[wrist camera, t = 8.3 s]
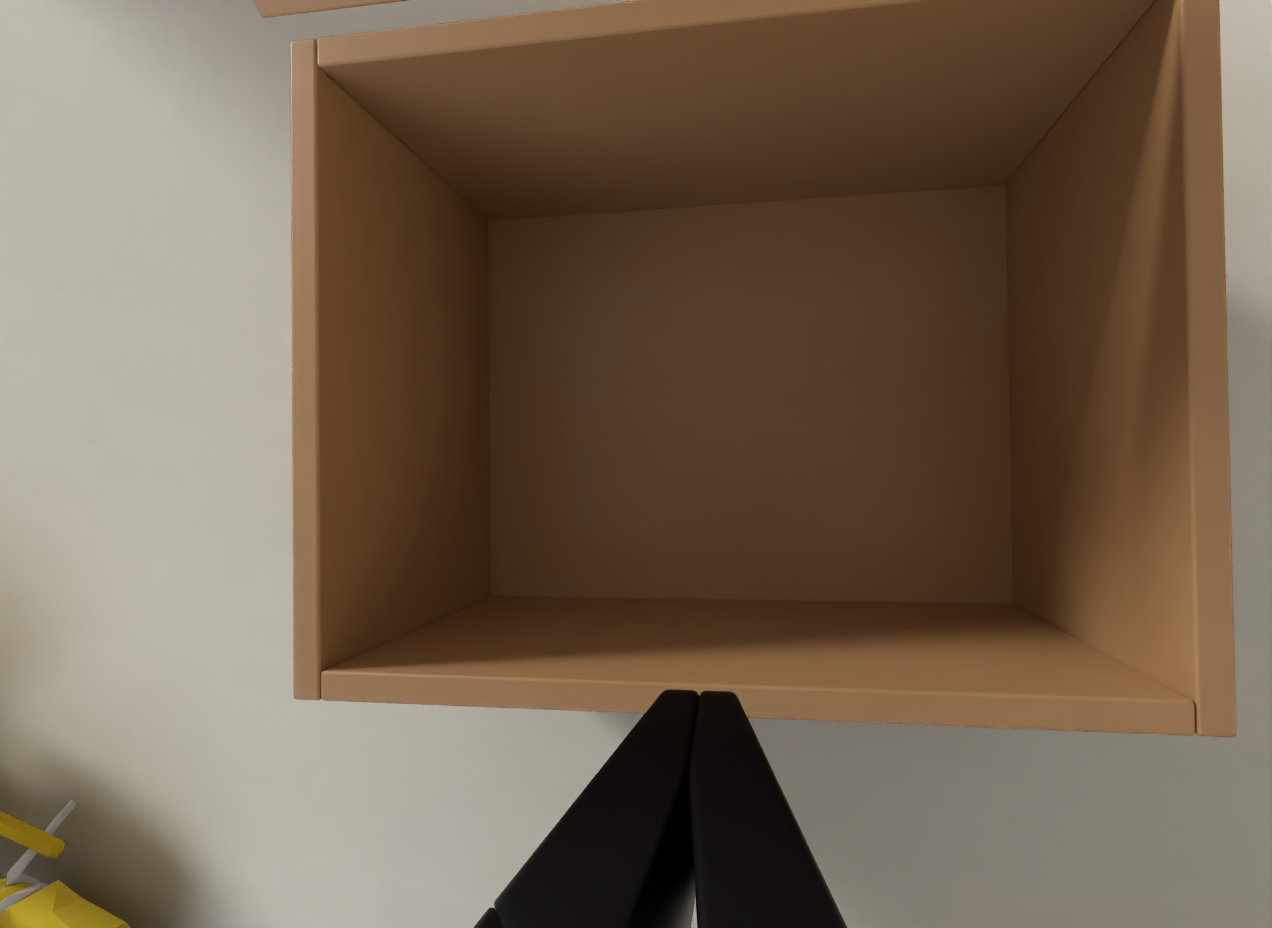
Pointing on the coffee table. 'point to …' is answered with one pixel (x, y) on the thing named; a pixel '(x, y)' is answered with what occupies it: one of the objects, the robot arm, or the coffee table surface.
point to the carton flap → (308, 6)
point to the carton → (768, 362)
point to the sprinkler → (44, 885)
